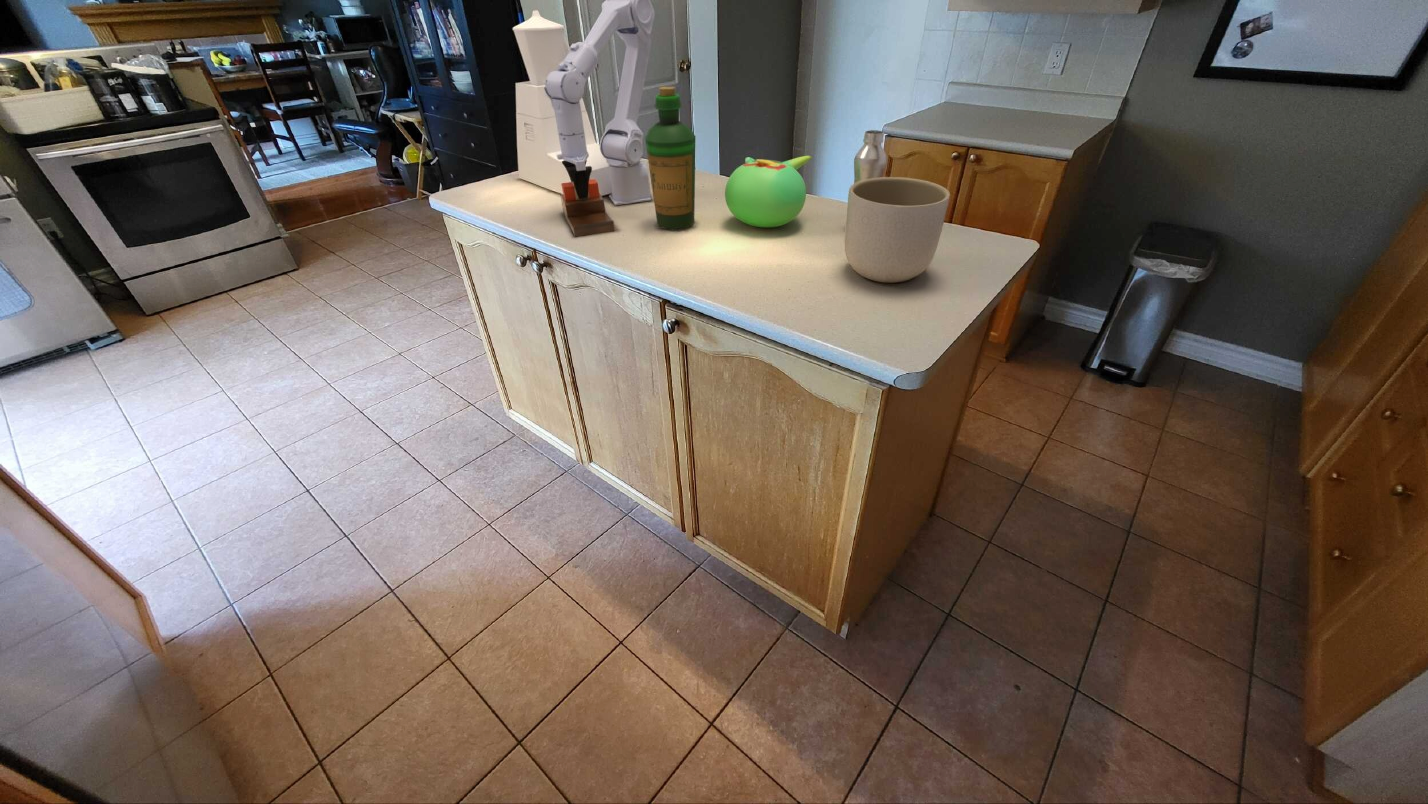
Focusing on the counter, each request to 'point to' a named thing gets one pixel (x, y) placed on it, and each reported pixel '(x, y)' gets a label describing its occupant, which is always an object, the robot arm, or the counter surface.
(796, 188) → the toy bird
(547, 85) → the robot arm
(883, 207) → the planter
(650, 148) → the bottle
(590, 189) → the candy bar
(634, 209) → the counter surface
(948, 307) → the counter surface
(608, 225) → the step shelf
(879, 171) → the silver metal bottle
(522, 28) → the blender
